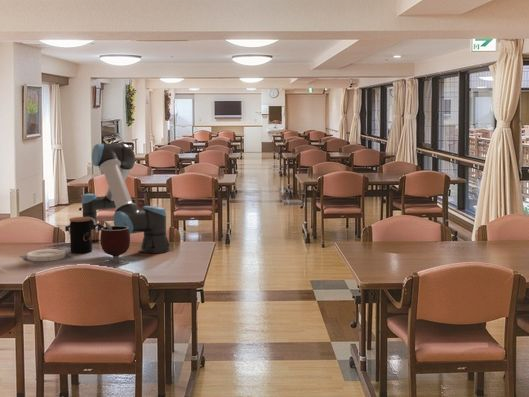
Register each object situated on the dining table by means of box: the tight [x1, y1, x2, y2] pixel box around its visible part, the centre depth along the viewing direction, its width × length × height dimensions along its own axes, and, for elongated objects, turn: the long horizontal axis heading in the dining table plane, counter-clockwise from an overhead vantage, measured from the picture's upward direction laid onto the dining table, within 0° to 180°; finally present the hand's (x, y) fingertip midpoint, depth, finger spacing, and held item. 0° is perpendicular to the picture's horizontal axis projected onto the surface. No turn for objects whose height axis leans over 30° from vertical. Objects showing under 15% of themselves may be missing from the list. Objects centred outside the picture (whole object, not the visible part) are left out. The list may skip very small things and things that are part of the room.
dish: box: [26, 248, 67, 262], centre depth 364 cm, size 18×18×2 cm
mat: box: [19, 254, 74, 265], centre depth 364 cm, size 22×20×1 cm
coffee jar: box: [69, 216, 93, 255], centre depth 376 cm, size 11×11×18 cm
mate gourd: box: [100, 220, 131, 267], centre depth 351 cm, size 16×14×20 cm
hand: (82, 230), depth 385 cm, fingers open, 13 cm apart
